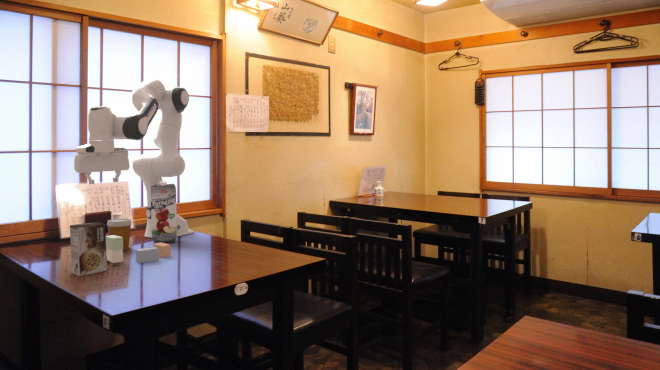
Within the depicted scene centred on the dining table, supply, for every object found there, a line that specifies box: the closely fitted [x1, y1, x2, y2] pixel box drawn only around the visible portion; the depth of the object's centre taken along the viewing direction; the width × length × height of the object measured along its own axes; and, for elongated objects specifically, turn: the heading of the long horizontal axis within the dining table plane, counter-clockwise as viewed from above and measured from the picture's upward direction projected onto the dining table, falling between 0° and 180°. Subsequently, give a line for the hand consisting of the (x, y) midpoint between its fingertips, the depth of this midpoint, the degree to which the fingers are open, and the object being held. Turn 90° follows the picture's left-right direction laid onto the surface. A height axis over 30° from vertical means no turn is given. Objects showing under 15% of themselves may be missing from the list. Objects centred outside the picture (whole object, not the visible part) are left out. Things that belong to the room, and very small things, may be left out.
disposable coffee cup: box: [106, 218, 133, 251], centre depth 193 cm, size 10×10×12 cm
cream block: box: [106, 249, 124, 264], centre depth 172 cm, size 4×7×4 cm, turn 45°
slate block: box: [135, 246, 160, 264], centre depth 172 cm, size 4×7×4 cm, turn 129°
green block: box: [106, 235, 123, 251], centre depth 172 cm, size 4×7×4 cm, turn 50°
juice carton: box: [151, 181, 178, 244], centre depth 207 cm, size 9×10×27 cm
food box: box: [69, 221, 108, 277], centre depth 155 cm, size 9×6×16 cm
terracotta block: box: [152, 242, 172, 258], centre depth 181 cm, size 4×7×4 cm, turn 48°
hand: (103, 183), depth 185 cm, fingers open, 8 cm apart
